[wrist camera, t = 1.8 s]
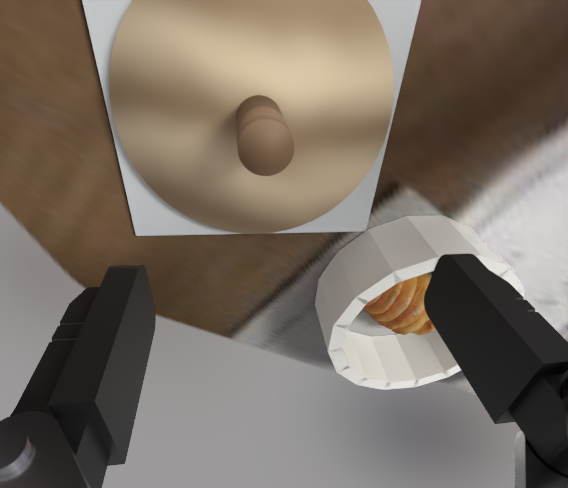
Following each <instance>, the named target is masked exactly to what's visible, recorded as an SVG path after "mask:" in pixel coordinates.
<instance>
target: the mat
mask: <svg viewBox="0 0 568 488" xmlns="http://www.w3.org/2000/svg"><path fill="white" fill-rule="evenodd" d="M368 1H369V3H370V4H371V6H372V7H373V9H374V11H375V13H376V15H377V17H378V19H379V21H380V23H381V25H382V28H383V31H384V34H385V37H386V40H387V43H388V46H389V50H390V55H391V60H392V65H393V78H394V96H393V108H392V114H391V119H390V124H389V127H388V131H387V134H386V138H385V141H384V143H383V145H382V148H381V150H380V152H379V155H378V157H377V158H376V160H375V162H374V164H373V165H372V167H371V169H370V170H369V172H368V173H367V175H366V176H365V177H364V179H363V180H362V182H361V183H360V184H359V185H358V186H357V187H356V188H355V189H354V191H353V192H352V193H351V194H350V195H349V196H348V197H346V198H345V199H344V200H343V201H342V202H341V203H340V204H339V205H337V206H336V207H334V208H333V209H332V210H330V211H329V212H327V213H326V214H324V215H322V216H320V217H319V218H317V219H315V220H313V221H311V222H308V223H306V224H304V225H301V226H298V227H295V228H292V229H288V230H284V231H279V232H274V233H310V232H361V231H366V228H367V224H368V220H369V216H370V211H371V207H372V203H373V199H374V195H375V191H376V186H377V182H378V178H379V174H380V170H381V166H382V161H383V157H384V153H385V149H386V145H387V141H388V137H389V132H390V128H391V124H392V120H393V116H394V112H395V107H396V103H397V99H398V95H399V91H400V87H401V82H402V78H403V74H404V70H405V66H406V62H407V57H408V53H409V49H410V45H411V41H412V37H413V32H414V28H415V24H416V20H417V16H418V12H419V8H420V3H421V0H368ZM82 2H83V6H84V11H85V15H86V19H87V24H88V28H89V33H90V37H91V41H92V46H93V50H94V54H95V59H96V63H97V68H98V72H99V76H100V81H101V85H102V89H103V94H104V98H105V103H106V107H107V111H108V116H109V120H110V124H111V129H112V133H113V138H114V142H115V146H116V151H117V155H118V159H119V164H120V168H121V172H122V177H123V181H124V186H125V190H126V194H127V199H128V203H129V207H130V212H131V216H132V221H133V225H134V229H135V234H136V236H155V235H207V234H242V233H235V232H228V231H224V230H220V229H216V228H213V227H210V226H207V225H205V224H202V223H199V222H197V221H195V220H193V219H191V218H189V217H187V216H185V215H184V214H182V213H181V212H179V211H178V210H176V209H175V208H173V207H172V206H170V205H169V204H168V203H167V202H165V201H164V200H163V199H162V198H161V197H159V196H158V195H157V194H156V193H155V192H154V191H153V190H152V189H151V187H150V186H149V185H148V184H147V183H146V182H145V181H144V179H143V178H142V177H141V175H140V174H139V173H138V171H137V170H136V169H135V167H134V165H133V164H132V162H131V160H130V159H129V157H128V155H127V153H126V151H125V149H124V147H123V144H122V142H121V140H120V137H119V135H118V132H117V128H116V125H115V122H114V118H113V114H112V107H111V101H110V88H109V72H110V63H111V54H112V50H113V46H114V42H115V38H116V34H117V31H118V28H119V26H120V24H121V21H122V19H123V17H124V14H125V12H126V10H127V8H128V7H129V5H130V4H131V2H132V0H82Z"/></svg>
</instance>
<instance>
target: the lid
mask: <svg viewBox="0 0 568 488" xmlns="http://www.w3.org/2000/svg"><path fill="white" fill-rule="evenodd" d="M109 88H110V101H111V107H112V114H113V118H114V122H115V125H116V128H117V132H118V135H119V137H120V140H121V142H122V144H123V147H124V149H125V151H126V153H127V155H128V157H129V159H130V160H131V162H132V164H133V165H134V167H135V169H136V170H137V171H138V173H139V174H140V175H141V177H142V178H143V179H144V181H145V182H146V183H147V184H148V185H149V186H150V187H151V189H152V190H153V191H154V192H155V193H156V194H157V195H158V196H159V197H161V198H162V199H163V200H164V201H165V202H167V203H168V204H169V205H170V206H172V207H173V208H175V209H176V210H178V211H179V212H181V213H182V214H184V215H185V216H187V217H189V218H191V219H193V220H195V221H197V222H199V223H202V224H205V225H207V226H210V227H213V228H216V229H220V230H224V231H228V232H235V233H242V234H264V233H274V232H279V231H284V230H288V229H292V228H295V227H298V226H301V225H304V224H306V223H308V222H311V221H313V220H315V219H317V218H319V217H320V216H322V215H324V214H326V213H327V212H329V211H330V210H332V209H333V208H334V207H336V206H337V205H339V204H340V203H341V202H342V201H343V200H344V199H345V198H346V197H348V196H349V195H350V194H351V193H352V192H353V191H354V189H355V188H356V187H357V186H358V185H359V184H360V183H361V182H362V180H363V179H364V177H365V176H366V175H367V173H368V172H369V170H370V169H371V167H372V165H373V164H374V162H375V160H376V158H377V157H378V155H379V152H380V150H381V148H382V145H383V143H384V141H385V138H386V134H387V131H388V127H389V124H390V119H391V114H392V108H393V96H394V78H393V65H392V60H391V55H390V50H389V46H388V43H387V40H386V37H385V34H384V31H383V28H382V25H381V23H380V21H379V19H378V17H377V15H376V13H375V11H374V9H373V7H372V6H371V4H370V3H369V1H368V0H132V2H131V4H130V5H129V7H128V8H127V10H126V12H125V14H124V17H123V19H122V21H121V24H120V26H119V28H118V31H117V34H116V38H115V42H114V46H113V50H112V54H111V63H110V72H109Z"/></svg>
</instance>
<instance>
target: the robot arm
mask: <svg viewBox="0 0 568 488" xmlns="http://www.w3.org/2000/svg"><path fill="white" fill-rule="evenodd" d="M424 307H425V311H426V313H427V315H428V317H429V319H430V320H431V322H432V324H433V325H434V327H435V328H436V330H437V332H438V333H439V335H440V336H441V338H442V340H443V341H444V343H445V344H446V346H447V348H448V349H449V351H450V353H451V354H452V356H453V357H454V359H455V361H456V362H457V364H458V365H459V367H460V369H461V370H462V372H463V373H464V375H465V377H466V378H467V380H468V381H469V383H470V385H471V386H472V388H473V389H474V391H475V393H476V394H477V396H478V397H479V399H480V401H481V402H482V404H483V405H484V407H485V409H486V410H487V412H488V413H489V415H490V417H491V418H492V420H493V421H494V423H495V424H499V423H508V422H516V423H517V425H518V426H519V427H520V430H519V432H518V433H517V435H516V440H515V488H568V342H567V341H566V340H565V339H564V338H563V337H562V336H561V335H560V334H559V333H558V332H557V331H556V330H555V329H554V328H553V327H552V326H551V325H550V324H549V323H548V322H547V321H546V320H545V319H544V318H543V317H542V316H541V315H540V314H539V313H538V312H535V308H534V307H533V306H532V305H531V304H530V303H529V302H528V301H527V300H523V296H522V295H521V294H520V293H519V292H518V291H517V290H516V289H515V288H514V287H513V286H512V285H511V284H510V283H509V282H507V281H506V280H504V279H503V278H501V277H500V276H498V275H496V274H495V273H493V272H492V271H490V270H489V269H488V268H487V267H486V266H485V265H484V264H483V263H482V262H481V261H480V260H479V259H478V258H477V257H476V256H475V255H473V254H469V253H468V254H445V255H442V256H441V257H440V258H439V260H438V262H437V264H436V267H435V269H434V272H433V274H432V277H431V279H430V282H429V284H428V287H427V289H426V292H425V295H424ZM154 331H155V307H154V303H153V298H152V294H151V290H150V285H149V281H148V277H147V272H146V269H145V267H144V265H119V266H110V267H109V268H108V270H107V272H106V274H105V277H104V279H103V281H102V283H101V286H100V287H92V288H86V289H85V290H84V291H83V292H82V293H81V294H80V295H79V296H78V297H76V298H75V299H74V300H73V301H72V302H71V303H70V304H69V306H68V308H67V310H66V312H65V314H64V316H63V318H62V320H61V321H60V326H58V327H57V329H56V331H55V333H54V335H53V337H52V342H50V343H49V345H48V346H47V348H46V350H45V352H44V354H43V356H42V358H41V360H40V362H39V364H38V366H37V368H36V370H35V372H34V373H33V375H32V377H31V379H30V381H29V383H28V385H27V387H26V389H25V391H24V393H23V394H22V397H21V399H20V400H19V402H18V404H17V406H16V408H15V409H14V411H13V413H12V414H11V415H10V417H7V418H5V419H3V420H1V421H0V488H102V484H103V480H104V476H105V472H106V469H107V466H109V465H118V464H125V461H126V456H127V452H128V447H129V442H130V438H131V434H132V429H133V425H134V420H135V416H136V411H137V407H138V403H139V398H140V393H141V389H142V384H143V380H144V375H145V371H146V367H147V362H148V358H149V353H150V349H151V344H152V340H153V335H154Z"/></svg>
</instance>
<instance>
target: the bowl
mask: <svg viewBox="0 0 568 488" xmlns="http://www.w3.org/2000/svg"><path fill="white" fill-rule="evenodd" d="M468 253H469V254H473V255H475V256H476V257H477V258H478V259H479V260H480V261H481V262H482V263H483V264H484V265H485V266H486V267H487V268H488V269H489V270H490V271H492V272H493V273H495V274H496V275H498V276H500V277H501V278H503V279H504V280H506V281H507V282H509V283H510V284H511V285H512V286H513V287H514V288H515V289H516V290H517V291H518V292H519V293H520V294H521V295H522V296H523V298H524V290H525V289H524V287H523V286H522V284H521V282H520V281H519V279H518V277H517V276H516V274H515V273H514V271H513V269H512V267H511V266H510V265H508V264H507V263H506V262H505V261H504V260H503V259H502V258H501V257H500V256H499V255H498V254H497V253H496V252H495V251H494V250H493V249H492V248H491V247H490V246H489V245H488V244H487V243H486V242H485V241H484V240H483V239H482V238H481V237H480V236H479V235H478V234H476V233H475V232H474V231H473V230H472V229H471V228H470V227H468V226H466V225H464V224H461V223H459V222H457V221H454V220H452V219H450V218H448V217H445V216H443V215H434V216H404V217H401V218H399V219H396V220H393V221H390V222H387V223H384V224H381V225H379V226H376V227H373V228H370V229H368V230H366V231H365V232H364V233H362V234H361V235H360V236H358V237H357V238H356V239H354V240H353V241H351V242H350V243H349V244H347V245H346V246H345V247H343V248H342V249H341V250H339V251H338V252H337V253H336V254H335V256H334V257H333V259H332V260H331V262H330V263H329V265H328V266H327V268H326V269H325V271H324V272H323V273H322V275H321V276H320V278H319V281H318V287H317V293H316V300H315V307H316V311H317V314H318V318H319V322H320V325H321V329H322V333H323V336H324V340H325V344H326V347H327V351H328V353H329V356H330V358H331V360H332V362H333V365H334V367H335V369H336V371H337V373H339V374H341V375H342V376H344V377H345V378H347V379H348V380H350V381H352V382H353V383H355V384H356V385H360V386H366V387H372V388H377V389H383V390H387V389H398V388H410V387H417V386H420V385H424V384H427V383H430V382H434V381H437V380H440V379H444V378H447V377H449V376H451V375H453V374H455V373H457V372H459V371H461V369H460V367H459V365H458V364H457V362H456V361H455V359H454V357H453V356H452V354H451V353H450V351H449V349H448V348H447V346H446V344H445V343H444V341H443V340H442V338H441V336H440V335H439V333H438V332H437V330H436V329H435V330H434V331H433V332H431V333H428V334H426V335H421V336H419V335H417V334H414V333H408V334H406V335H402V334H396V335H384V336H367V335H363V334H359V333H355V332H350V331H348V330H347V328H348V326H349V325H350V323H351V322H352V321H353V320H354V319H355V317H356V316H357V315H358V314H359V312H360V311H361V310H362V309H363V308H364V306H365V305H366V304H367V303H368V302H370V301H371V300H373V299H374V298H376V297H377V296H379V295H380V294H382V293H383V292H385V291H386V290H388V289H389V288H391V287H392V286H394V285H395V284H397V283H399V282H401V281H404V280H407V279H410V278H413V277H416V276H419V275H422V274H425V273H428V272H431V271H434V269H435V267H436V264H437V262H438V260H439V258H440V257H441V256H442V255H445V254H468Z"/></svg>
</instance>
